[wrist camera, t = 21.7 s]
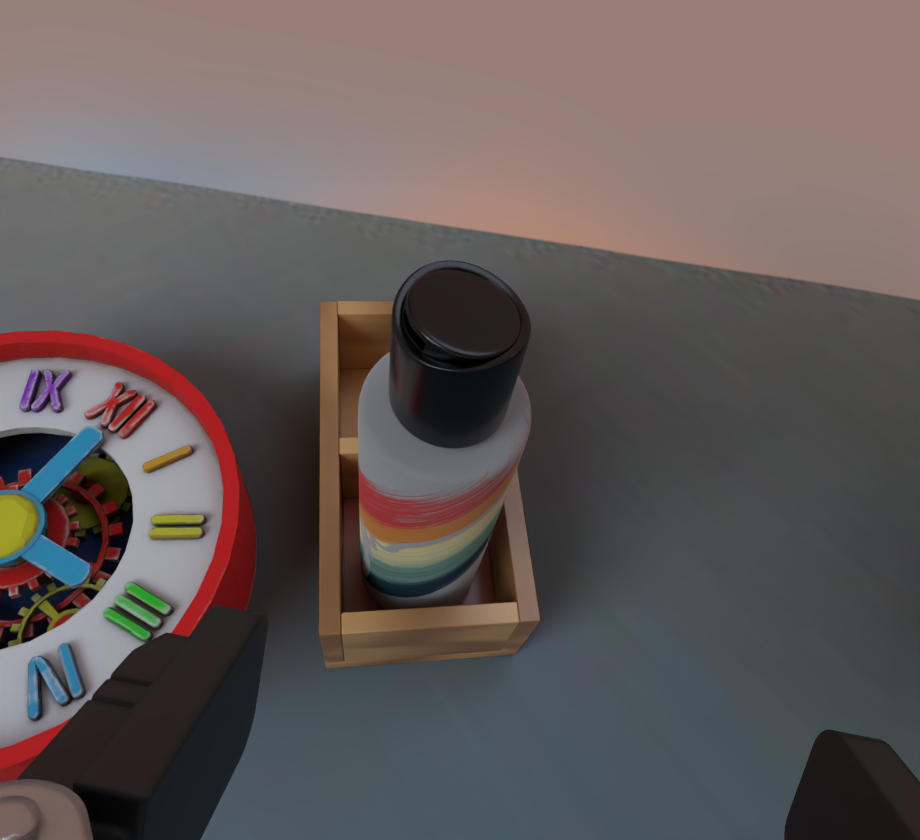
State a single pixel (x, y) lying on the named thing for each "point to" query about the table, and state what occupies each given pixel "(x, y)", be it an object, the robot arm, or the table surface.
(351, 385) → the wooden organizer box
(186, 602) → the toy clock
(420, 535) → the lotion bottle
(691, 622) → the table surface
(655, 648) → the table surface
